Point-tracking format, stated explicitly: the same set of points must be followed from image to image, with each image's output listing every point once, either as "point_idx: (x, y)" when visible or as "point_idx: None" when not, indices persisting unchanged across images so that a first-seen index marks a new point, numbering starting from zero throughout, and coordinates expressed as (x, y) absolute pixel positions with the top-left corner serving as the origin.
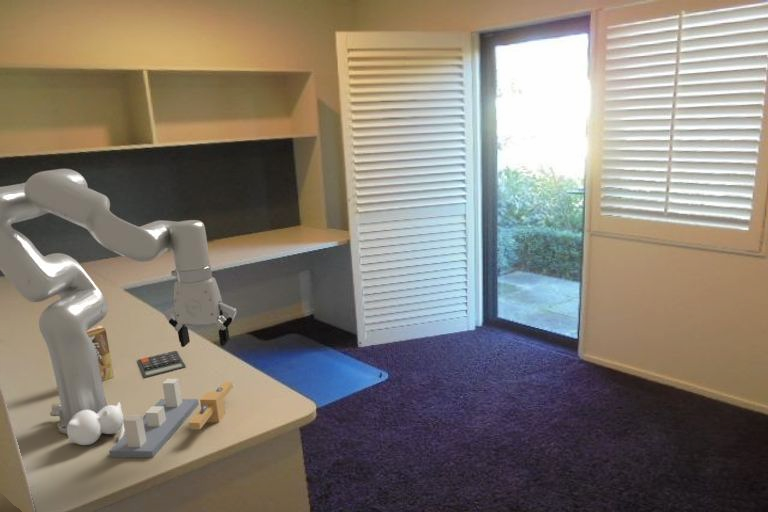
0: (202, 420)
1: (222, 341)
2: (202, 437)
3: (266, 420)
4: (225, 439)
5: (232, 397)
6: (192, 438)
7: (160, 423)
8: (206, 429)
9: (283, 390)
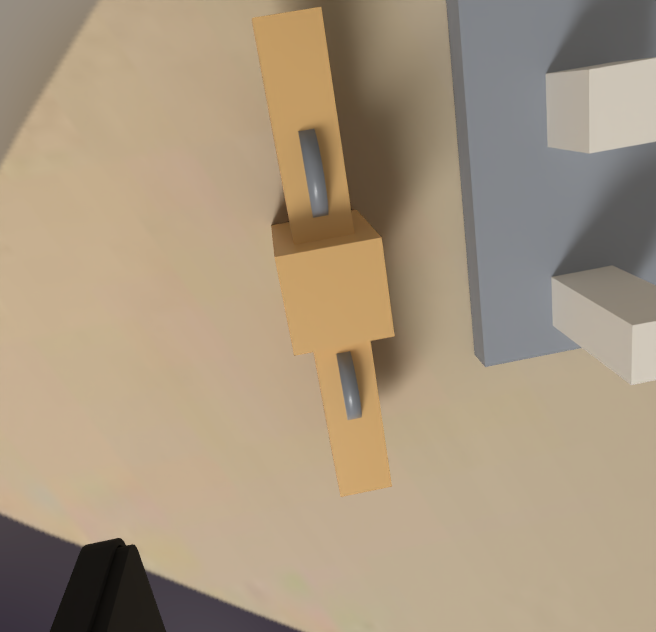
0: (261, 69)
1: (67, 598)
2: None
3: (28, 291)
4: (130, 73)
5: None
6: None
7: (550, 84)
8: None
9: None
